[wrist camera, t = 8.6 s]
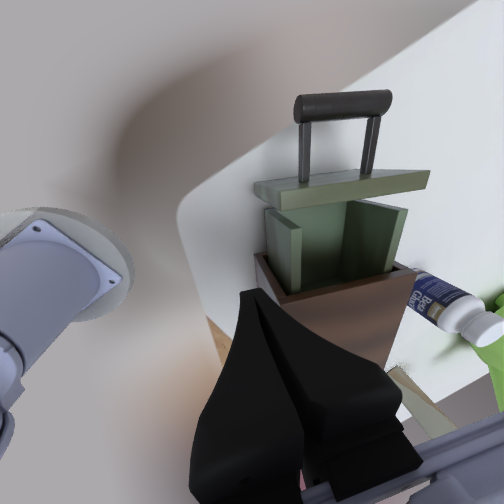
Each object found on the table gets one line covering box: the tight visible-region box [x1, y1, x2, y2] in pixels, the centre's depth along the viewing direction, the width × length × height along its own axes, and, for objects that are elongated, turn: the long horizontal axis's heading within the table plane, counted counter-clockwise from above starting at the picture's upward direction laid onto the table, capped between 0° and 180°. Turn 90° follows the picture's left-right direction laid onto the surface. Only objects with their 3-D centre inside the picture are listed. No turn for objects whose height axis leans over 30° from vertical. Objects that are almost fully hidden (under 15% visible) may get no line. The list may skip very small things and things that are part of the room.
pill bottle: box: [407, 269, 504, 347], centre depth 24 cm, size 5×5×10 cm
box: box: [387, 366, 458, 439], centre depth 35 cm, size 5×4×11 cm
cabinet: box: [254, 251, 418, 370], centre depth 20 cm, size 14×12×9 cm
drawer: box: [254, 89, 431, 296], centre depth 16 cm, size 17×10×7 cm, turn 6°
